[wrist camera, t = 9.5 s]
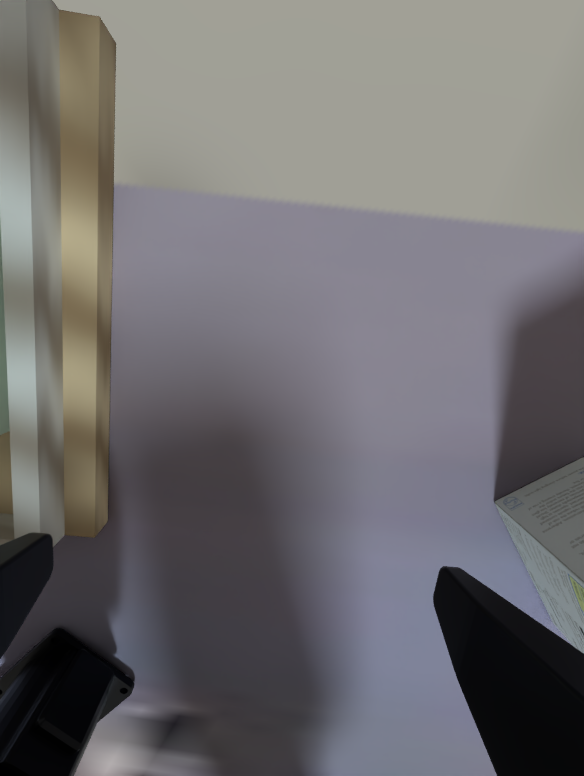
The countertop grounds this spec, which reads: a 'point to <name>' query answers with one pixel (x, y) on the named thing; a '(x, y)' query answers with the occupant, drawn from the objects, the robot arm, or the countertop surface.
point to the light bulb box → (553, 543)
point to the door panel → (3, 358)
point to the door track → (56, 267)
